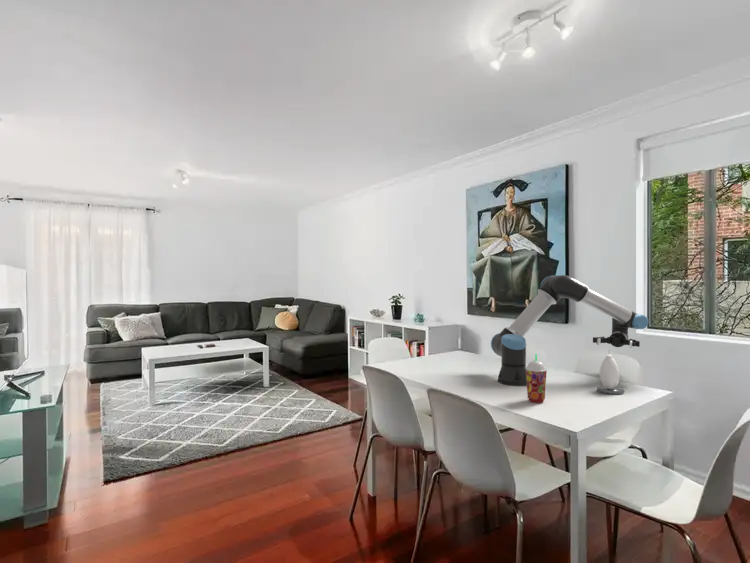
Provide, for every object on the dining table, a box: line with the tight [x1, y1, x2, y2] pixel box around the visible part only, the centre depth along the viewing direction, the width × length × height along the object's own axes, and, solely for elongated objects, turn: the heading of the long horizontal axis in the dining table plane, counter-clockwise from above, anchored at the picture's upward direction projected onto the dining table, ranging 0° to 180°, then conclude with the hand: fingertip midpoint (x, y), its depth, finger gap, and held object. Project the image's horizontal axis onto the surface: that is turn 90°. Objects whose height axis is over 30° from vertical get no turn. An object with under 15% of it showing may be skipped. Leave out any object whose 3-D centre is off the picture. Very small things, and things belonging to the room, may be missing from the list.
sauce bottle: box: [599, 349, 620, 389], centre depth 197 cm, size 8×8×18 cm
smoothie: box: [526, 353, 547, 404], centre depth 180 cm, size 8×8×20 cm
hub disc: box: [596, 385, 625, 396], centre depth 197 cm, size 11×11×1 cm
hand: (614, 343), depth 205 cm, fingers open, 13 cm apart
